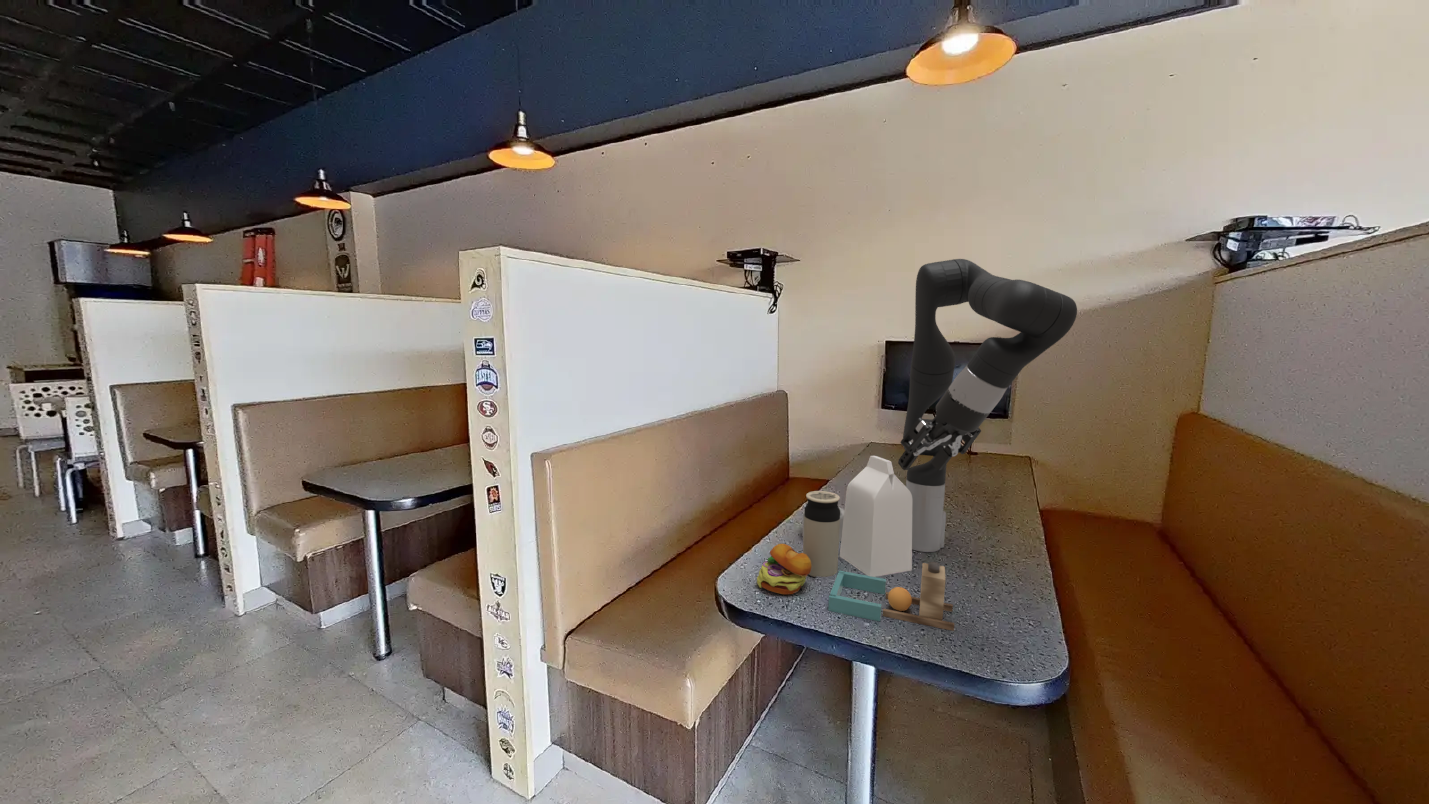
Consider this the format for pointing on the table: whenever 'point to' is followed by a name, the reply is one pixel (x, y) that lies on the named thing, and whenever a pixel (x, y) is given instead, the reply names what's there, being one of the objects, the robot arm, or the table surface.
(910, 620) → the channel
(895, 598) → the ball
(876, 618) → the teal u-shaped frame
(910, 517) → the milk
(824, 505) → the travel mug
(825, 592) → the table surface
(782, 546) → the cheeseburger
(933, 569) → the tan rectangular block
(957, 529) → the table surface
